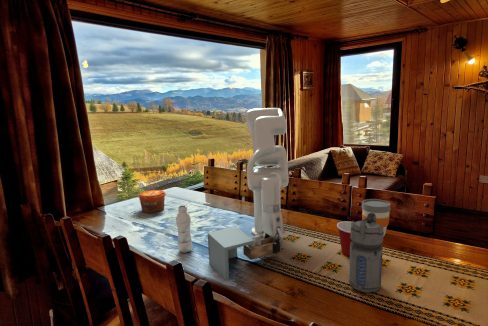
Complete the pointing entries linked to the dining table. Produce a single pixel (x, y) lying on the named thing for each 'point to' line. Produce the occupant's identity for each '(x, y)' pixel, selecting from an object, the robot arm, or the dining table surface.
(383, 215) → the reusable coffee cup
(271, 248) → the tray
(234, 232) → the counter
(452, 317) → the dining table surface
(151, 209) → the food container
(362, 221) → the beverage bottle
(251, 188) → the robot arm
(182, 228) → the plastic bottle
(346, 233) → the plastic cup
